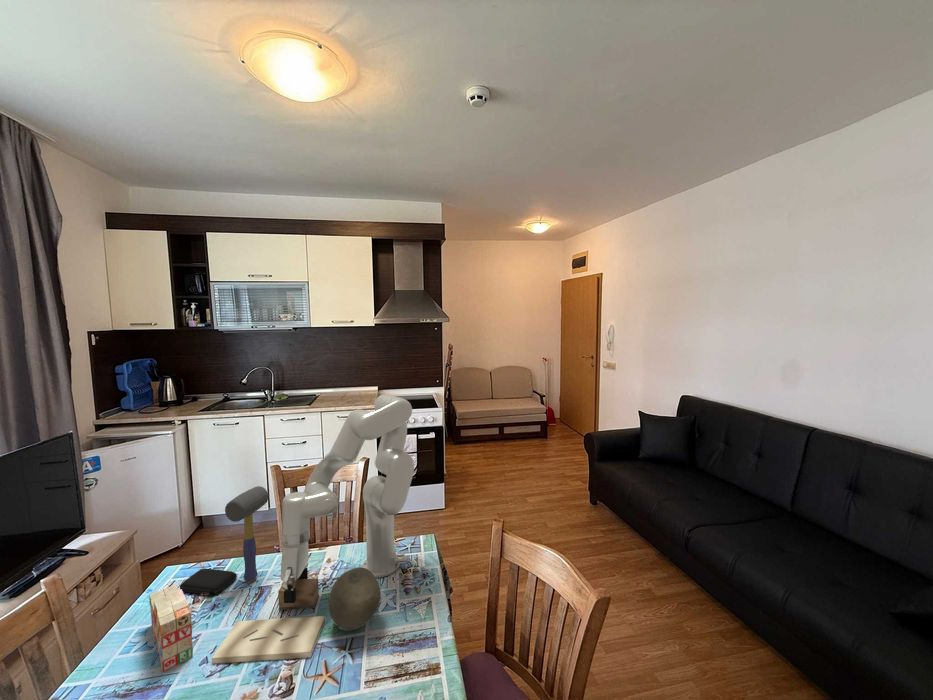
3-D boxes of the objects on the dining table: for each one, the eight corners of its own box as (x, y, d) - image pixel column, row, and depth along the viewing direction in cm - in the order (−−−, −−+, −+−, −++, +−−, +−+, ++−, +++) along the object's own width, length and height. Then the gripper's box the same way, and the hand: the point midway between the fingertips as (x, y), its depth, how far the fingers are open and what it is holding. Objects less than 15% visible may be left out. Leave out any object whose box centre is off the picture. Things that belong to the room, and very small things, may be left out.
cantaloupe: (324, 649, 99) (322, 593, 98) (334, 609, 113) (332, 560, 112) (379, 641, 101) (378, 587, 100) (382, 603, 115) (381, 555, 114)
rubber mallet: (247, 594, 120) (243, 501, 118) (226, 592, 121) (221, 499, 119) (273, 569, 132) (270, 484, 130) (254, 567, 133) (250, 483, 132)
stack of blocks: (150, 626, 107) (148, 583, 107) (178, 614, 112) (176, 573, 111) (162, 673, 92) (159, 624, 92) (193, 657, 97) (191, 611, 96)
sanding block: (318, 596, 119) (318, 578, 118) (313, 608, 114) (313, 589, 113) (285, 598, 118) (284, 580, 118) (279, 610, 113) (278, 591, 113)
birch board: (325, 621, 108) (324, 616, 108) (310, 657, 96) (310, 651, 96) (237, 626, 107) (237, 621, 107) (212, 663, 95) (211, 657, 95)
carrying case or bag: (173, 595, 120) (213, 600, 118) (172, 586, 120) (213, 591, 117) (202, 574, 131) (240, 578, 128) (201, 565, 130) (239, 569, 128)
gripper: (294, 521, 123) (294, 573, 123) (270, 552, 106) (270, 612, 106) (318, 521, 123) (318, 573, 124) (298, 551, 106) (298, 611, 107)
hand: (296, 591), depth 115 cm, fingers open, 9 cm apart
